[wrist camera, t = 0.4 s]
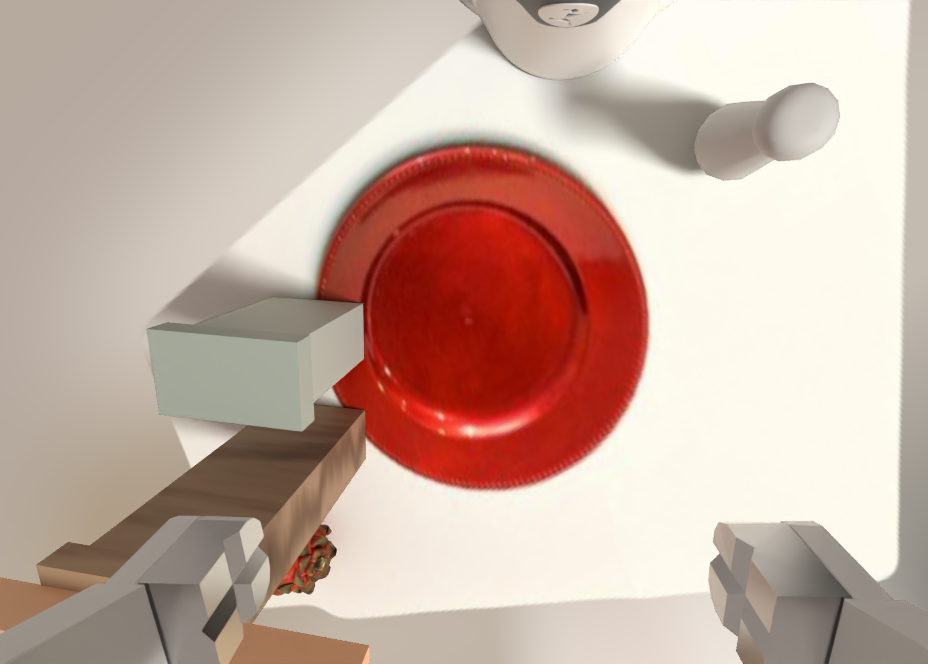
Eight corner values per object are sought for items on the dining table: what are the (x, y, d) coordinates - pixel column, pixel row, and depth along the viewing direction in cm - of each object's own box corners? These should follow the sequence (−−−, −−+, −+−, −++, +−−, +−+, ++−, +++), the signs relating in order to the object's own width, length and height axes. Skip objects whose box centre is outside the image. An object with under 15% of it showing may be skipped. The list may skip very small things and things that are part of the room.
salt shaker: (703, 194, 41) (773, 191, 28) (674, 134, 40) (733, 104, 28) (772, 157, 39) (878, 136, 27) (743, 93, 38) (839, 42, 26)
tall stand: (271, 395, 53) (36, 564, 28) (373, 406, 51) (217, 596, 27) (276, 451, 55) (58, 654, 30) (374, 463, 53) (229, 689, 29)
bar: (-1, 577, 29) (-59, 618, 26) (369, 645, 26) (347, 700, 23) (14, 628, 30) (-41, 672, 27) (370, 699, 27) (349, 758, 24)
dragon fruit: (356, 512, 58) (292, 537, 62) (300, 494, 52) (234, 522, 57) (351, 590, 52) (281, 610, 57) (288, 579, 47) (216, 602, 51)
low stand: (263, 291, 50) (146, 329, 35) (372, 299, 48) (296, 342, 33) (268, 353, 52) (159, 414, 37) (372, 363, 50) (302, 431, 35)
